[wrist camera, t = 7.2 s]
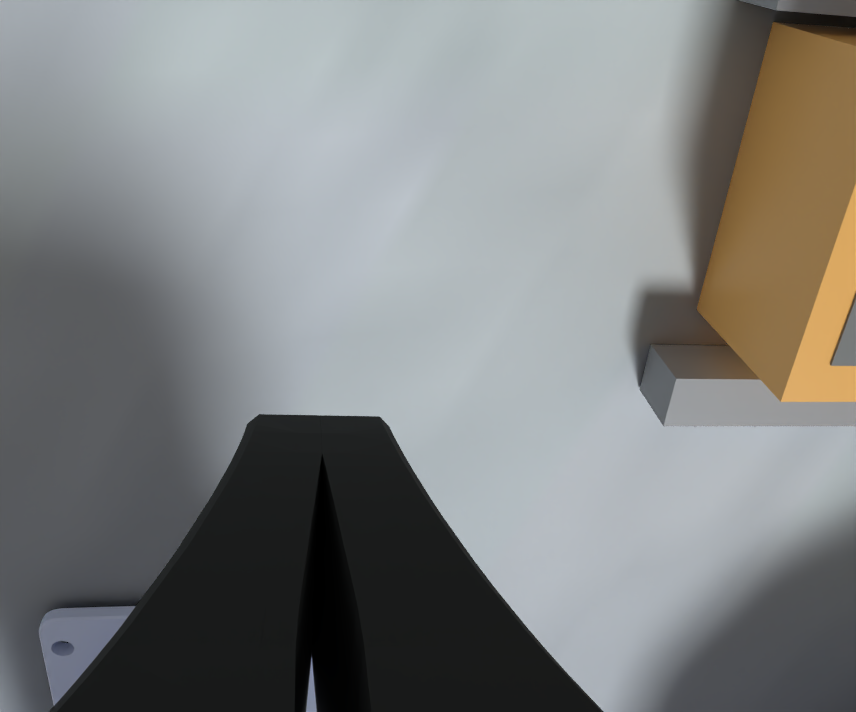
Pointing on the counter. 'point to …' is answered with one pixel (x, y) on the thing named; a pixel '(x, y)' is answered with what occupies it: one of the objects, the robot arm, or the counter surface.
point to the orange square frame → (793, 222)
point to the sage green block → (733, 352)
